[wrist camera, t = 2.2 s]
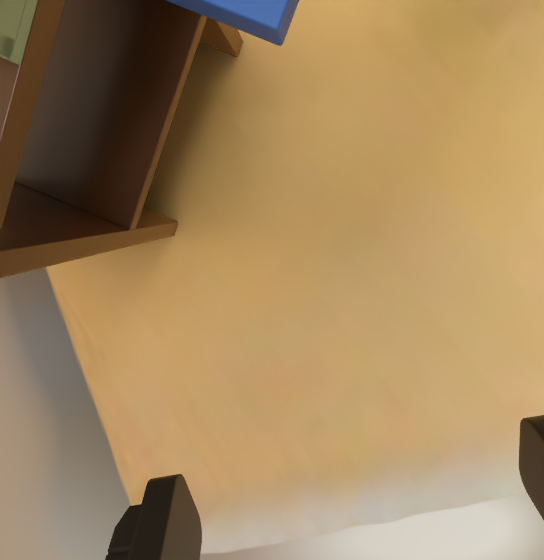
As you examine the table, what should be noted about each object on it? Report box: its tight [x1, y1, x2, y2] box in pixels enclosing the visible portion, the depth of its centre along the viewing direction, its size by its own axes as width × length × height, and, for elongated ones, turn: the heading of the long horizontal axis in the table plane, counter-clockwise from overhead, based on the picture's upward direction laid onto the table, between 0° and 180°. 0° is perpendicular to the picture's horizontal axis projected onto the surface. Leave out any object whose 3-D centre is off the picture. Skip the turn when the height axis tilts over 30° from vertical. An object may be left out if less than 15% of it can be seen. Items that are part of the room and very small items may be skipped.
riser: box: [0, 0, 243, 278], centre depth 32 cm, size 12×20×30 cm, turn 158°
